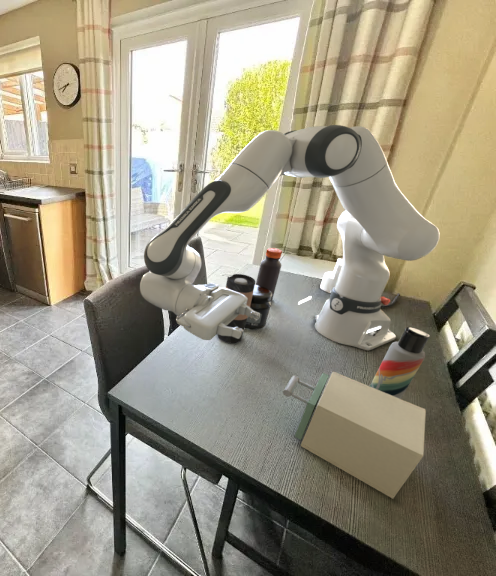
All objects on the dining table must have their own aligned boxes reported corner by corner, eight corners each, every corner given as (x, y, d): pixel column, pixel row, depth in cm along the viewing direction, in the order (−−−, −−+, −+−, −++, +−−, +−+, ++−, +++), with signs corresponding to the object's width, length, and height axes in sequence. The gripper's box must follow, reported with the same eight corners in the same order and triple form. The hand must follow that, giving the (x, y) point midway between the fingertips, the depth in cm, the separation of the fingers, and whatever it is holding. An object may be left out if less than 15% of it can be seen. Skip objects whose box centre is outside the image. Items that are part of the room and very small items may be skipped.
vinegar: (250, 294, 121) (261, 246, 112) (268, 296, 120) (281, 247, 111) (255, 303, 115) (267, 253, 106) (274, 304, 114) (288, 254, 105)
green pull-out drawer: (270, 422, 66) (281, 389, 61) (287, 394, 73) (298, 362, 69) (376, 482, 55) (399, 446, 50) (384, 441, 62) (404, 407, 57)
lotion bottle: (360, 391, 75) (393, 323, 66) (381, 390, 76) (417, 322, 67) (380, 410, 70) (419, 339, 61) (402, 408, 70) (445, 337, 61)
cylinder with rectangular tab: (346, 296, 119) (357, 268, 114) (319, 290, 124) (329, 263, 118) (345, 288, 126) (356, 260, 121) (320, 282, 131) (329, 256, 125)
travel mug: (244, 345, 91) (258, 286, 83) (217, 342, 93) (229, 283, 84) (240, 331, 98) (252, 274, 89) (215, 328, 100) (225, 272, 91)
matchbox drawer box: (300, 445, 62) (317, 404, 57) (316, 410, 70) (332, 371, 65) (393, 499, 53) (423, 455, 48) (399, 450, 61) (426, 409, 56)
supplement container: (261, 315, 107) (269, 285, 101) (269, 333, 97) (278, 300, 92) (230, 312, 109) (236, 282, 103) (234, 329, 99) (241, 296, 94)
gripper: (173, 308, 68) (232, 333, 60) (216, 280, 81) (270, 297, 73) (170, 331, 71) (227, 358, 62) (212, 301, 84) (264, 320, 76)
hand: (250, 325), depth 68 cm, fingers open, 8 cm apart
